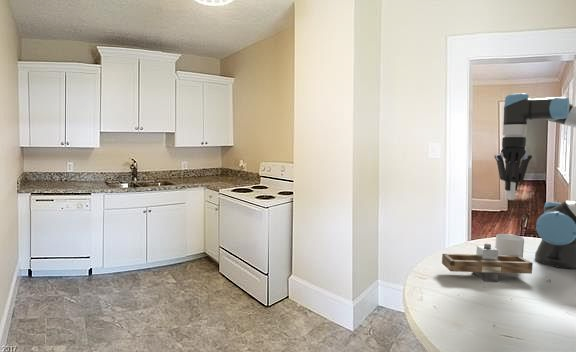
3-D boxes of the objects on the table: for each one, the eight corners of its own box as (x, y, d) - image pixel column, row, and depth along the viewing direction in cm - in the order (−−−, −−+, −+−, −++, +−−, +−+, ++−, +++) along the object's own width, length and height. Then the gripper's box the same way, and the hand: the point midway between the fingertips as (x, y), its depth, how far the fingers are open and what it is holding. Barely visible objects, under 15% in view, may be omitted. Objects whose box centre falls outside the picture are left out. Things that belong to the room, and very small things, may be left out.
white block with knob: (490, 260, 128) (492, 242, 127) (497, 264, 123) (498, 246, 123) (476, 260, 128) (477, 242, 127) (481, 264, 123) (483, 246, 123)
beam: (516, 273, 130) (517, 254, 129) (532, 283, 121) (533, 263, 120) (441, 271, 131) (441, 252, 130) (450, 280, 122) (451, 261, 122)
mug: (517, 272, 131) (520, 241, 130) (490, 265, 137) (492, 236, 136) (527, 264, 139) (529, 235, 138) (501, 259, 146) (503, 231, 144)
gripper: (525, 136, 141) (521, 197, 143) (491, 136, 141) (487, 197, 144) (538, 136, 134) (534, 201, 136) (502, 136, 134) (498, 200, 136)
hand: (510, 199), depth 140 cm, fingers closed
